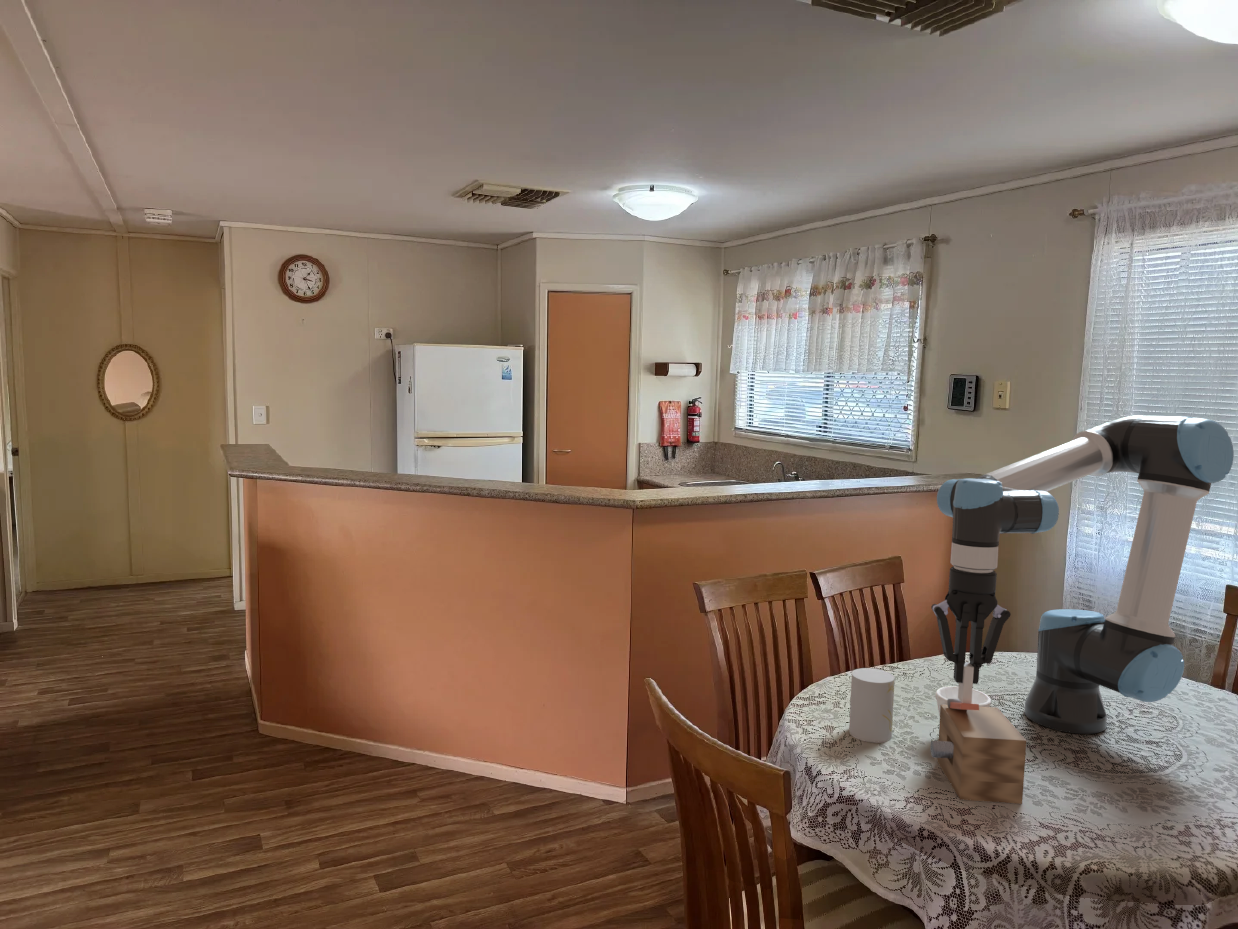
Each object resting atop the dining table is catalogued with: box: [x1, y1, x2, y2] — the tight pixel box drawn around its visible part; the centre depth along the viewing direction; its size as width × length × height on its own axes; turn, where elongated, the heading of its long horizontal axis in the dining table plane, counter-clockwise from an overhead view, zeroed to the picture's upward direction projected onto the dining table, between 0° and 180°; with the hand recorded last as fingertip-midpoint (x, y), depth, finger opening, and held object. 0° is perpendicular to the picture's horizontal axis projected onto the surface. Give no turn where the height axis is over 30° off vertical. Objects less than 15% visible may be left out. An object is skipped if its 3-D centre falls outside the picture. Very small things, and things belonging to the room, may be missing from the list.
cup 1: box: [848, 667, 896, 744], centre depth 165 cm, size 8×8×12 cm
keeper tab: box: [947, 699, 979, 710], centre depth 147 cm, size 3×8×2 cm, turn 174°
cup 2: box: [935, 685, 992, 717], centre depth 162 cm, size 10×10×9 cm
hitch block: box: [936, 704, 1027, 805], centre depth 146 cm, size 10×14×11 cm
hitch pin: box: [930, 740, 954, 759], centre depth 146 cm, size 15×5×5 cm, turn 84°
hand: (964, 700), depth 146 cm, fingers closed
